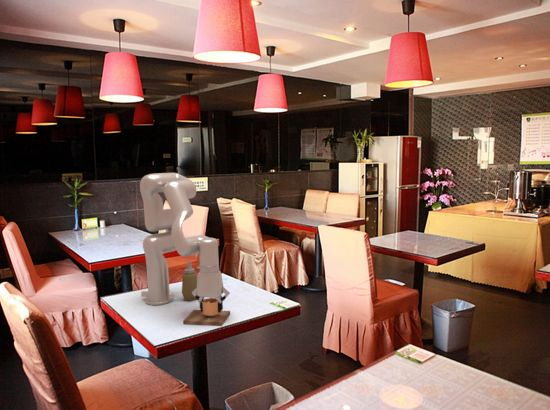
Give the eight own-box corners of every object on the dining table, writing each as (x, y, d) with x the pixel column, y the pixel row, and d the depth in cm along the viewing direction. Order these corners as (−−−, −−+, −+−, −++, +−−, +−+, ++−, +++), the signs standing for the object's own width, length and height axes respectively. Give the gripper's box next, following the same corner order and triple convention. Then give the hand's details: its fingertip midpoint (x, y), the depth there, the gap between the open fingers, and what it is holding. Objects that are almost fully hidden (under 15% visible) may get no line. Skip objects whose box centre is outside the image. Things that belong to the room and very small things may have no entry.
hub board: (183, 324, 166) (182, 309, 165) (194, 312, 178) (193, 299, 177) (221, 325, 163) (221, 311, 162) (230, 314, 175) (229, 300, 174)
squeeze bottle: (201, 296, 199) (199, 259, 197) (196, 301, 191) (194, 263, 189) (185, 295, 200) (183, 259, 198) (179, 301, 192) (177, 263, 190)
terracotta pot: (206, 309, 173) (205, 296, 173) (221, 309, 172) (221, 296, 172) (201, 315, 167) (200, 302, 166) (216, 315, 166) (216, 302, 165)
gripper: (185, 270, 165) (187, 313, 167) (227, 271, 162) (229, 315, 164) (192, 265, 173) (194, 307, 175) (232, 266, 170) (234, 308, 172)
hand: (211, 310), depth 170 cm, fingers closed on terracotta pot, 6 cm apart
